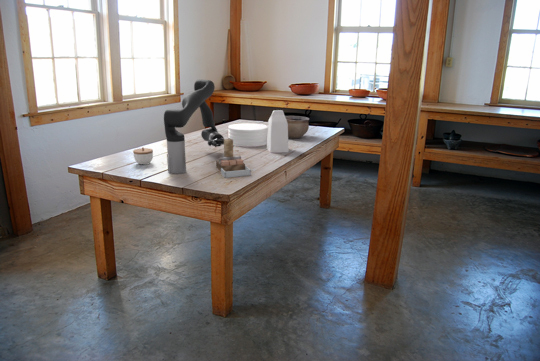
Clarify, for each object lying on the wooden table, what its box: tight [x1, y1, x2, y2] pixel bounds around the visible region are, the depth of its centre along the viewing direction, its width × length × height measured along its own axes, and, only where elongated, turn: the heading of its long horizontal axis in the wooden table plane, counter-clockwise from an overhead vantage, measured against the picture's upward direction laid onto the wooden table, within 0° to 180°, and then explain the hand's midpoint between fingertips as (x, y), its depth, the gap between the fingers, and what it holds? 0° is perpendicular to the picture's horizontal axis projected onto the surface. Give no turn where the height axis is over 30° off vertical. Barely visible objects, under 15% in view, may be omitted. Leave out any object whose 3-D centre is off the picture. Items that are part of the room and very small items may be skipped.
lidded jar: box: [132, 146, 154, 165], centre depth 246 cm, size 11×11×9 cm
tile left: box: [221, 160, 229, 166], centre depth 230 cm, size 4×4×2 cm
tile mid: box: [228, 160, 236, 165], centre depth 232 cm, size 4×4×2 cm
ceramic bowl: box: [285, 115, 310, 139], centre depth 322 cm, size 22×22×15 cm
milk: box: [266, 109, 289, 154], centre depth 278 cm, size 12×12×26 cm
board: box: [215, 160, 246, 173], centre depth 236 cm, size 13×12×4 cm
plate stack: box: [227, 122, 268, 148], centre depth 304 cm, size 28×28×12 cm
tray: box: [220, 165, 252, 178], centre depth 227 cm, size 14×8×3 cm, turn 111°
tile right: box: [235, 158, 244, 164], centre depth 233 cm, size 4×4×2 cm
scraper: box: [218, 138, 242, 164], centre depth 235 cm, size 12×6×12 cm, turn 111°
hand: (223, 144), depth 246 cm, fingers open, 8 cm apart
